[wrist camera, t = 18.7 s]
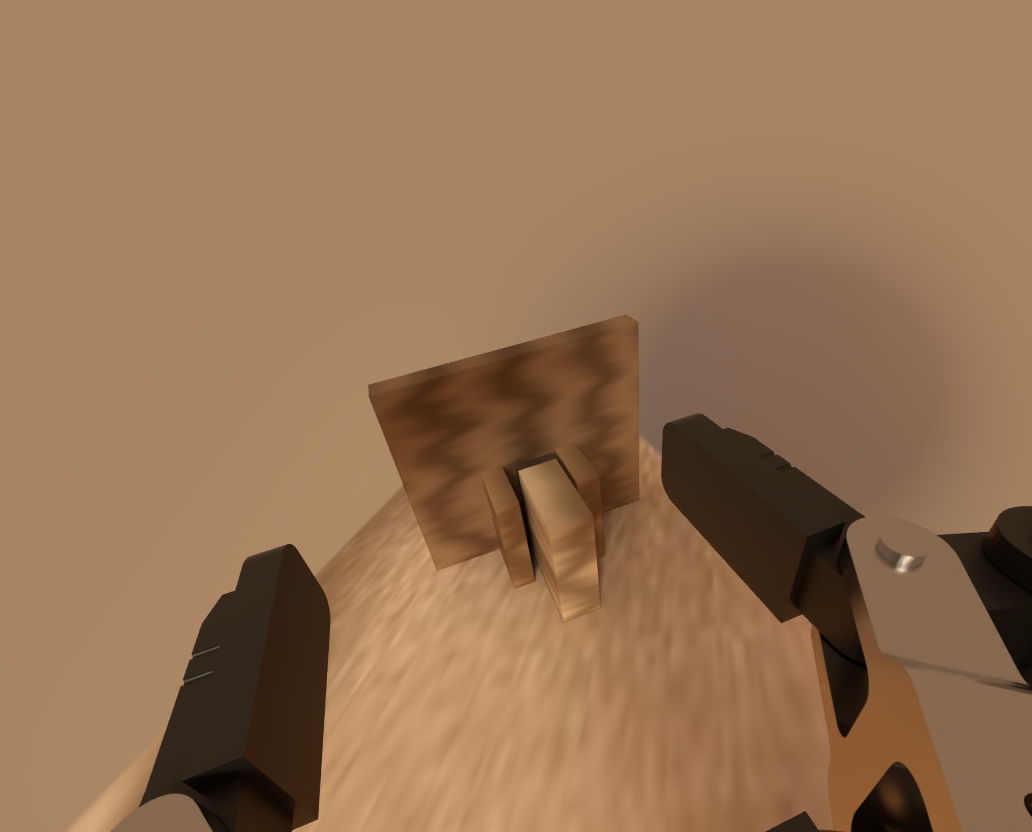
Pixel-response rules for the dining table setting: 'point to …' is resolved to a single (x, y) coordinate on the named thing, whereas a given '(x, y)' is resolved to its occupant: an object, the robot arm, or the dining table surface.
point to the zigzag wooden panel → (514, 437)
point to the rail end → (560, 535)
